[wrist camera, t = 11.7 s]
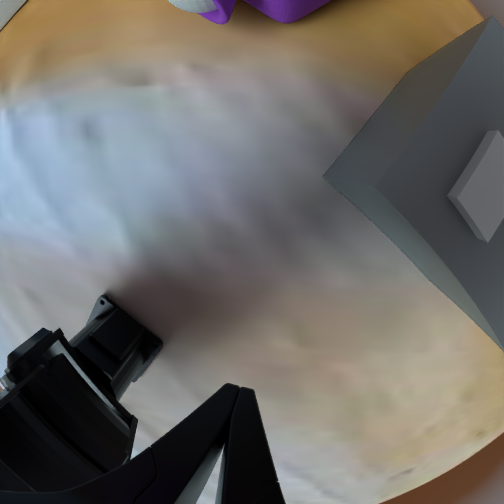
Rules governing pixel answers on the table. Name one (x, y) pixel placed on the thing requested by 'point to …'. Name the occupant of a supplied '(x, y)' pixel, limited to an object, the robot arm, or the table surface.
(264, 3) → the toy camera
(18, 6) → the photo printer
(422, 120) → the camera case
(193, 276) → the table surface
